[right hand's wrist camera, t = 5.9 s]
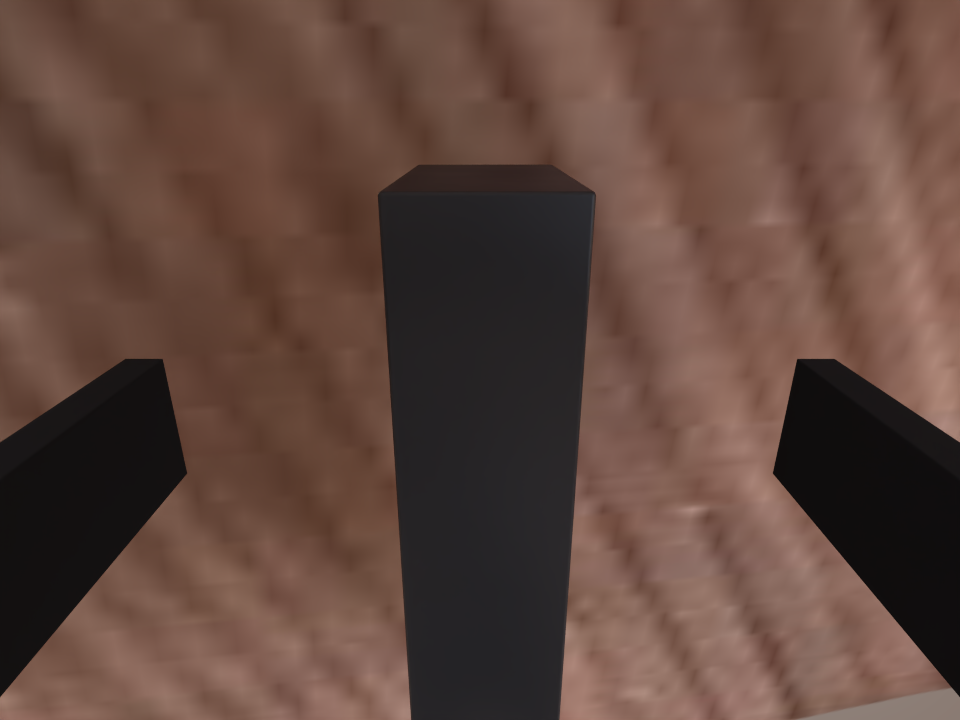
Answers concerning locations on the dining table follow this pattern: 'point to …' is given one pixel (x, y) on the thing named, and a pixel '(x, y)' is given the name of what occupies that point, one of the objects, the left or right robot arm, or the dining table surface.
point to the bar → (486, 427)
